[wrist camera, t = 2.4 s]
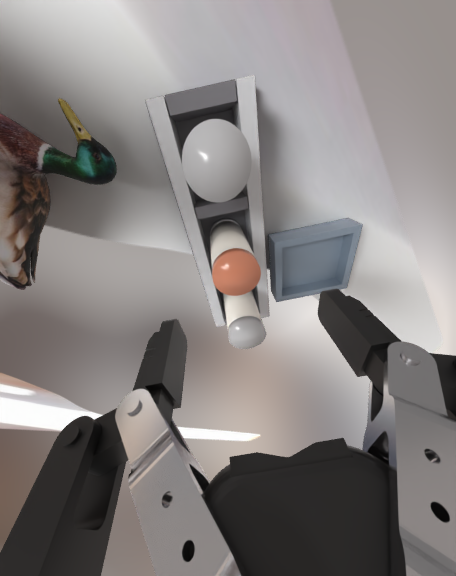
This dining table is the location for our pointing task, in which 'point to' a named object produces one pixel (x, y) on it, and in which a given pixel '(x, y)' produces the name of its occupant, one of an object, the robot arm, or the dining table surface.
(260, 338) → the fuse
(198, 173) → the white domed part
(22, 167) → the decorative duck model
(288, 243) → the tray
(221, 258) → the cylinder
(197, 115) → the grey compartment rack
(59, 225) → the dining table surface
